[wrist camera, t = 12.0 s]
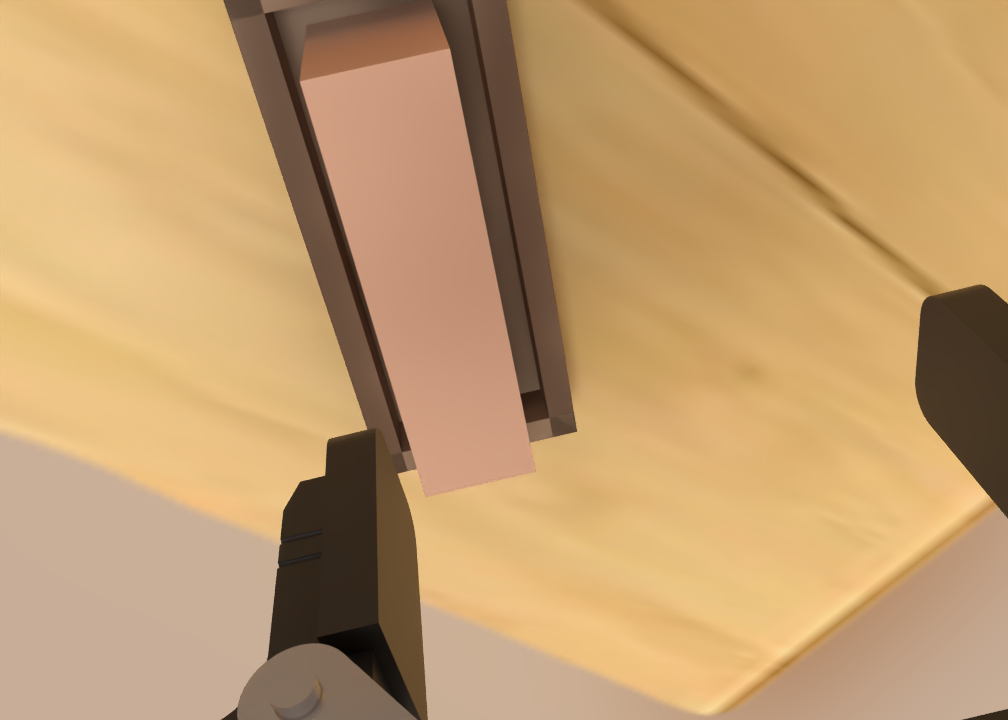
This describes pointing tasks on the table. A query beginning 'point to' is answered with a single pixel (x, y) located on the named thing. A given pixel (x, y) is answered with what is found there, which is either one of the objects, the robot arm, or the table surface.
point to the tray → (501, 183)
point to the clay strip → (418, 238)
